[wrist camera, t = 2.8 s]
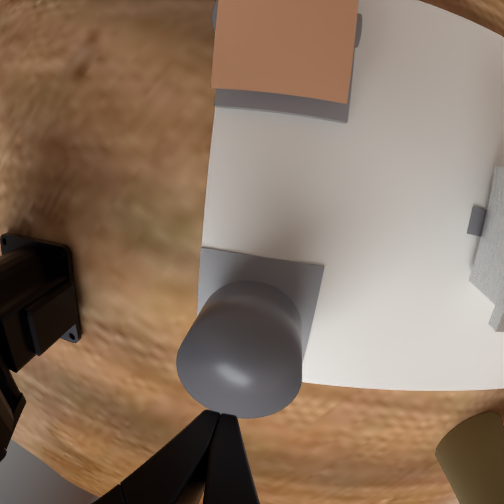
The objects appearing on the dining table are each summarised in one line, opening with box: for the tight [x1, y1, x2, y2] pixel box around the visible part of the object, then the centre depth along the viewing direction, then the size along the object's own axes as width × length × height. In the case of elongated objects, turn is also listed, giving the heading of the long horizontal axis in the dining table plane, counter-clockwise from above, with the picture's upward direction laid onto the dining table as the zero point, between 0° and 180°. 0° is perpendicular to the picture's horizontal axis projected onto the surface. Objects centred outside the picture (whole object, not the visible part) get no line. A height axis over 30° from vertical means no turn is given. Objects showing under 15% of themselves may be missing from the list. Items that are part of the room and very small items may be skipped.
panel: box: [197, 0, 504, 391], centre depth 12 cm, size 19×18×3 cm
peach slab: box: [211, 0, 362, 104], centre depth 8 cm, size 4×5×2 cm
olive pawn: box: [435, 412, 504, 504], centre depth 12 cm, size 6×6×11 cm
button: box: [176, 281, 302, 419], centre depth 11 cm, size 4×4×3 cm
